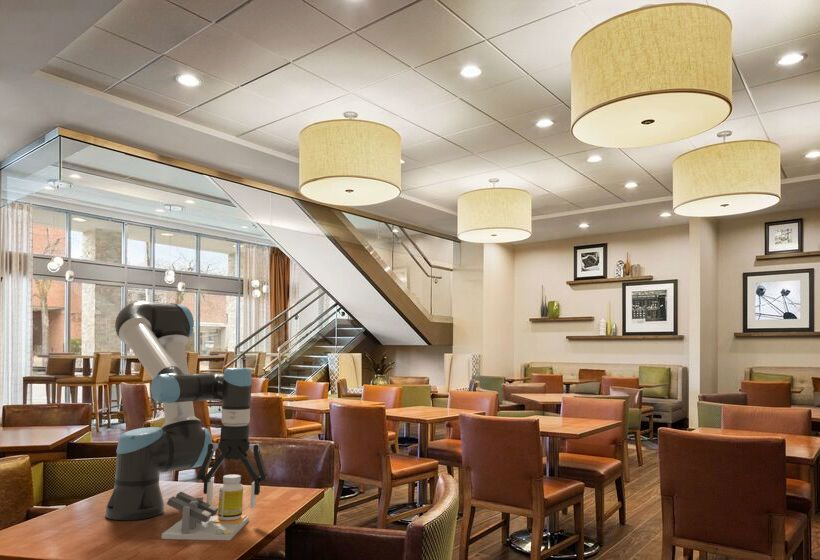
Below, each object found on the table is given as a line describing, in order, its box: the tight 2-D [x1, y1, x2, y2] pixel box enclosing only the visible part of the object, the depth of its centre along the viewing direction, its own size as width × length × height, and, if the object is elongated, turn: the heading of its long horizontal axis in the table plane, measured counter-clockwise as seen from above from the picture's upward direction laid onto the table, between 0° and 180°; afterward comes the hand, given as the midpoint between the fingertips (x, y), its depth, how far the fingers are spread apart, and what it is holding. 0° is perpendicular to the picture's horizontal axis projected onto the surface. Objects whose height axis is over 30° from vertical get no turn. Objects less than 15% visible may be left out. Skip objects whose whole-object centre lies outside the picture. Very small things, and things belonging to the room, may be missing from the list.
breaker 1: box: [166, 496, 212, 523], centre depth 155 cm, size 11×3×2 cm, turn 88°
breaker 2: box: [175, 491, 219, 516], centre depth 160 cm, size 11×3×2 cm, turn 88°
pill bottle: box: [217, 474, 244, 521], centre depth 166 cm, size 6×6×11 cm
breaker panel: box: [161, 496, 250, 541], centre depth 160 cm, size 17×18×8 cm
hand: (230, 506), depth 166 cm, fingers open, 11 cm apart
